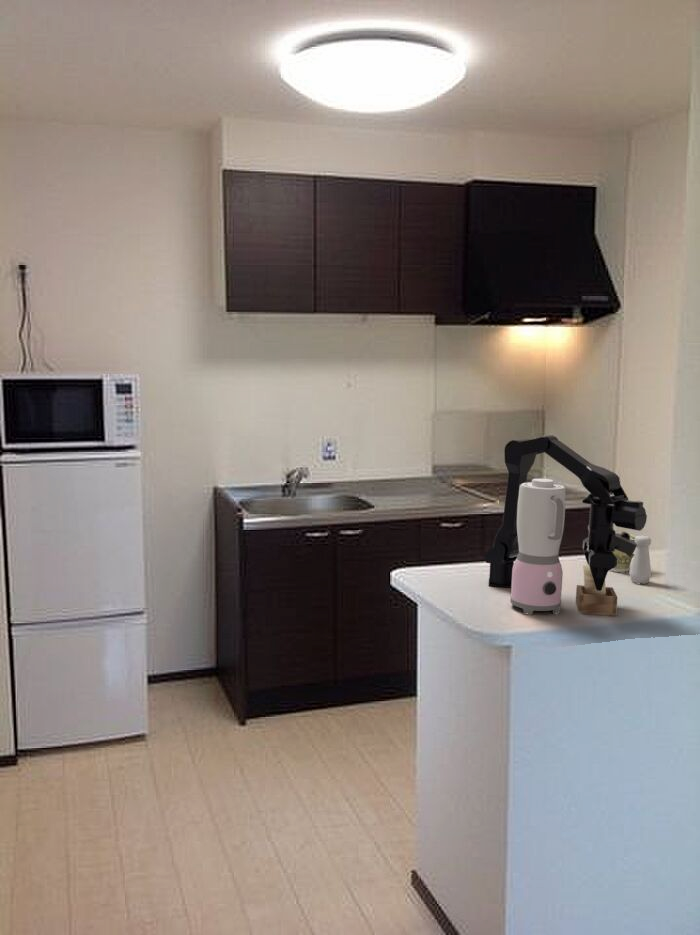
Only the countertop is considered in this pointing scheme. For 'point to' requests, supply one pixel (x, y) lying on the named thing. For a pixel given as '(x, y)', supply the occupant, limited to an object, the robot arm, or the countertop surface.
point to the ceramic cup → (623, 559)
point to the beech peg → (591, 583)
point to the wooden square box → (596, 602)
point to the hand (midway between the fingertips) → (596, 585)
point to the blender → (539, 547)
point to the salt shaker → (641, 561)
